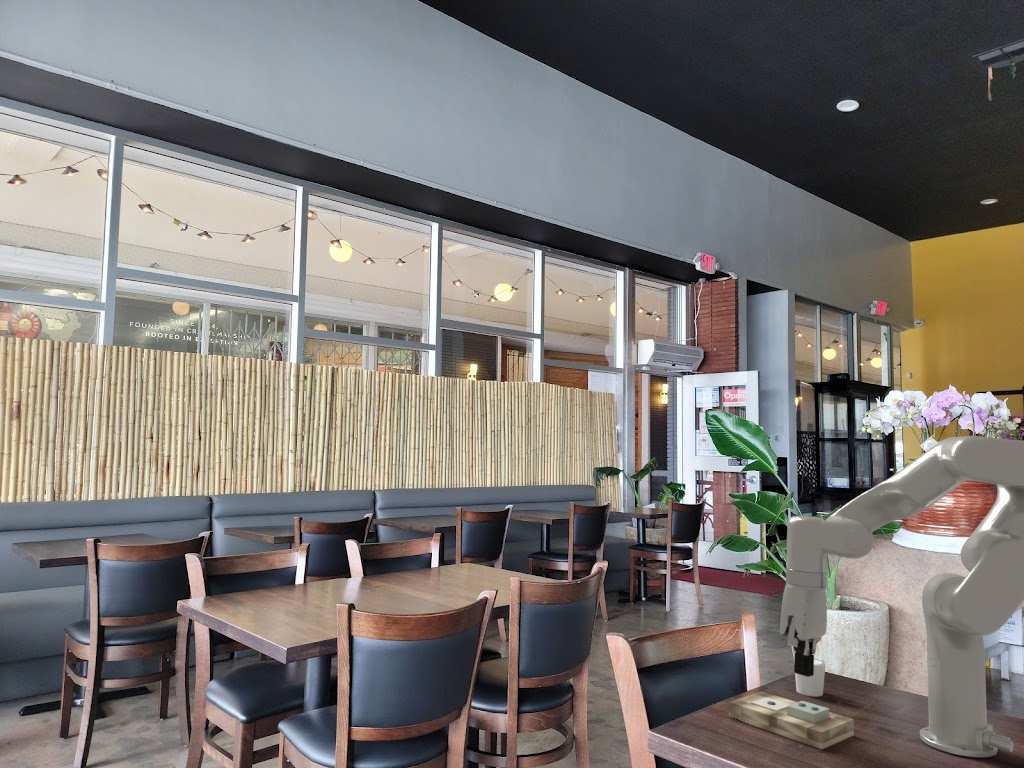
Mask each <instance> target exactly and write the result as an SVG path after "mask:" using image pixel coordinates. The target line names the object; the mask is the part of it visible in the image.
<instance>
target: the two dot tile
mask: <svg viewBox="0 0 1024 768" xmlns="http://www.w3.org/2000/svg"><path fill="white" fill-rule="evenodd" d="M796 702H797V703H794V704H791V705H788V706H787V715H788V716H791V717H794V718H797V719H800V720H803V721H806V722H809V723H812V724H817V723H820V722H822V721H825V720H827V719H829V712H830V708H829V707H825V706H822V705H819V704H815V703H811V702H808V701H804V700H800V701H796Z"/></svg>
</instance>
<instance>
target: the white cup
mask: <svg viewBox="0 0 1024 768" xmlns="http://www.w3.org/2000/svg"><path fill="white" fill-rule="evenodd" d="M825 673H826V662H825V661H824V660H821V659H818V658H814V675H813V676H809V677H807V676H803V675H800V674H796V673H795V672H794V676H795V687H796V688H795V689H796V692H797V693H798V694H800V695H802V696H803V695H804V696H807V697H816V698H817V697H822V696H823V694H824V686H825V676H826V675H825Z"/></svg>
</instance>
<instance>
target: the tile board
mask: <svg viewBox="0 0 1024 768" xmlns="http://www.w3.org/2000/svg"><path fill="white" fill-rule="evenodd" d="M766 697H767V698H770V699H774V700H777V701H780V702H783V703H787V704H790V705H791V704H794V703H797V702H798V701H795V700H791V699H788V698H784V697H781V696H777V695H774V694H771V693H768V692H765V691H759V692H755V693H753V694H750V695H746V696H743V697H739V698H736V699H733V700H731V701H728V717H729V716H730V717H732V718H731V719H733V718H735V719H734V720H736V719H738V720H741V721H743V722H742V723H744V722H745V723H744V724H747V723H748V724H747V725H750V726H754V727H755V728H756V727H757V728H759V729H762V730H765V731H768V732H771V733H774V734H776V735H780V736H782V737H785V738H788V739H791V740H794V741H797V742H800V743H803V744H805V745H809V746H811V747H814V748H818V749H820V750H824V749H826V748H829V747H830V746H834V745H837V744H838V743H840V742H842V741H844V740H847V739H848V738H851V737H853V736H855V729H854V728H855V727H854V726H855V725H854V724H855V720H854V718H850V717H848V716H844V715H841V714H837V713H834V712H831V711H829V719H827V720H825V721H822V722H820V723H817V724H812V723H809V722H806V721H803V720H800V719H797V718H794V717H791V716H788V715H787V709H784V710H781V711H778V712H775V711H772V710H769V709H766V708H763V707H759V706H756V705H753V704H751V702H754V701H757V700H760V699H763V698H766ZM730 717H729V718H730ZM738 720H737V721H738ZM741 721H740V722H741Z"/></svg>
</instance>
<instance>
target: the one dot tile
mask: <svg viewBox="0 0 1024 768" xmlns="http://www.w3.org/2000/svg"><path fill="white" fill-rule="evenodd" d="M751 704H753V705H756V706H759V707H763V708H766V709H769V710H772V711H775V712H778V711H781V710H784V709H787V706H788V705H790V704H787V703H783V702H780V701H777V700H774V699H770V698H767V697H766V698H763V699H760V700H757V701H754V702H751Z"/></svg>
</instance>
